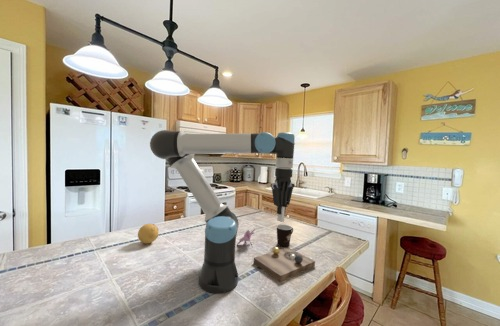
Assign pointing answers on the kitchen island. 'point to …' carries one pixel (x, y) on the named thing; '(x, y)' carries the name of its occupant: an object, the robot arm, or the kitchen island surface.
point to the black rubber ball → (298, 259)
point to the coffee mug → (284, 235)
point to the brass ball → (276, 251)
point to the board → (283, 264)
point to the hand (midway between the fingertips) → (280, 221)
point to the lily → (246, 237)
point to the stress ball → (148, 233)
